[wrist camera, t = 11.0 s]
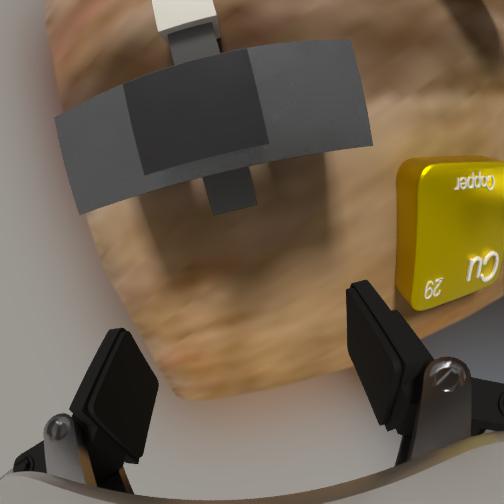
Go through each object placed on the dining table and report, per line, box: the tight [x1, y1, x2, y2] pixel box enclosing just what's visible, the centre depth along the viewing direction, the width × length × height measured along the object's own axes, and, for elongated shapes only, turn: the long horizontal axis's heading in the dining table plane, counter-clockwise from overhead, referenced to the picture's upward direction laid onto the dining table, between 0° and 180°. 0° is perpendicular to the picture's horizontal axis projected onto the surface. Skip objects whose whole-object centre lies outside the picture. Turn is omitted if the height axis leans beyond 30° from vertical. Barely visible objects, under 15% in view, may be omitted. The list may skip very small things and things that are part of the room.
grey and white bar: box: [152, 0, 257, 215], centre depth 18 cm, size 4×18×5 cm, turn 13°
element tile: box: [395, 156, 504, 311], centre depth 23 cm, size 15×15×5 cm
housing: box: [55, 39, 373, 215], centre depth 15 cm, size 16×6×12 cm, turn 102°
